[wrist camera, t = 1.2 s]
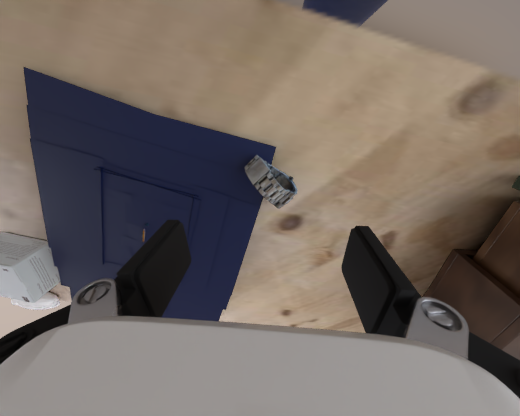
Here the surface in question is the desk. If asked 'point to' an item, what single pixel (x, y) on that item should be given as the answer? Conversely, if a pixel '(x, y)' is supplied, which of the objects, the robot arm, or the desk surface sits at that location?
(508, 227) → the drawer
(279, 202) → the wristwatch
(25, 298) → the small box
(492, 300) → the cabinet
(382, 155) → the desk surface
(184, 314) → the dark blue flat piece
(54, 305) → the white rounded lump
